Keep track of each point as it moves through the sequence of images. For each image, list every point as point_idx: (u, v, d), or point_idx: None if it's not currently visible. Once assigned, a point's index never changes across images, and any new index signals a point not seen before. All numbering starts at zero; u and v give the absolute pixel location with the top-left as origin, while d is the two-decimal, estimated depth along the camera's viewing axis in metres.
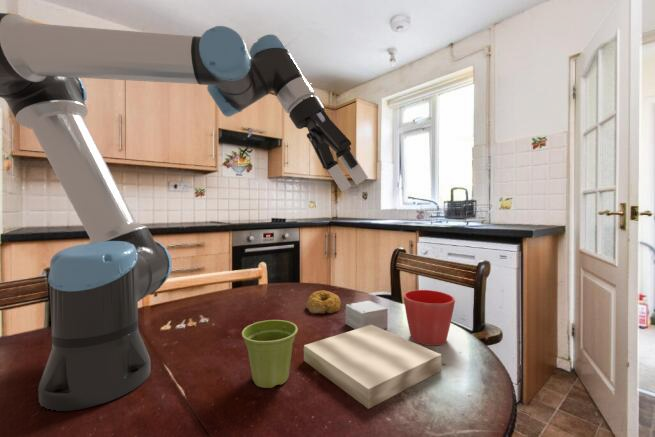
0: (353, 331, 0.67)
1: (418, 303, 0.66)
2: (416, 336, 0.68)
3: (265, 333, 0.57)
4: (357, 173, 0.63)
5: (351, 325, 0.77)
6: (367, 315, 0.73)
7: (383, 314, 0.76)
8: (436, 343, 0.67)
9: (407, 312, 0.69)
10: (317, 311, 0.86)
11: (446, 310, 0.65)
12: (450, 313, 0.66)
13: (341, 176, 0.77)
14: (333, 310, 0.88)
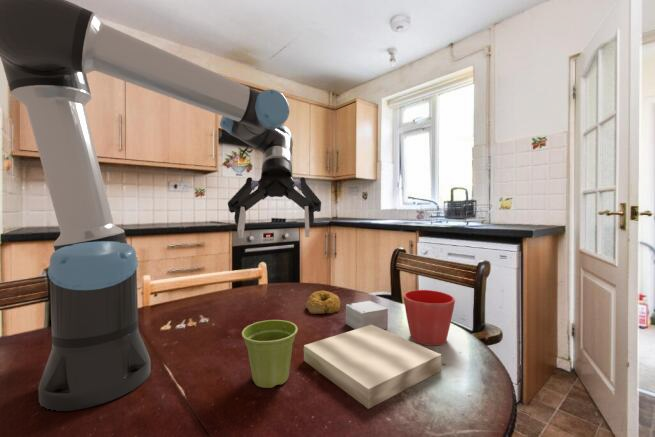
0: (353, 331, 0.67)
1: (418, 303, 0.66)
2: (416, 336, 0.68)
3: (265, 333, 0.57)
4: None
5: (351, 325, 0.77)
6: (367, 315, 0.73)
7: (383, 314, 0.76)
8: (436, 343, 0.67)
9: (407, 312, 0.69)
10: (317, 311, 0.86)
11: (446, 310, 0.65)
12: (450, 313, 0.66)
13: (244, 223, 0.66)
14: (333, 310, 0.88)
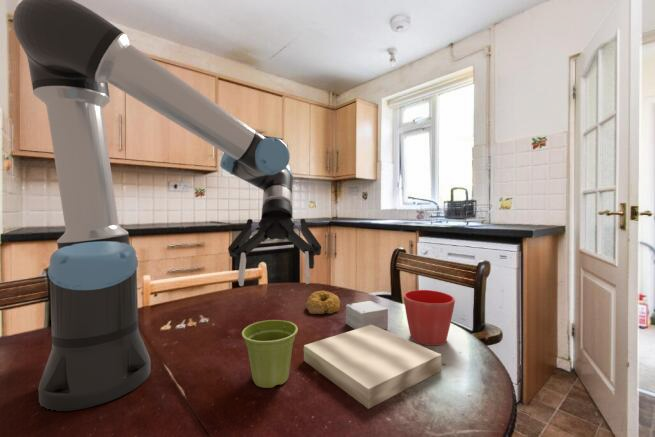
0: (353, 331, 0.67)
1: (418, 303, 0.66)
2: (416, 336, 0.68)
3: (265, 333, 0.57)
4: None
5: (351, 325, 0.77)
6: (366, 315, 0.73)
7: (383, 314, 0.76)
8: (436, 343, 0.67)
9: (407, 312, 0.69)
10: (317, 312, 0.86)
11: (446, 310, 0.65)
12: (450, 313, 0.66)
13: (244, 269, 0.66)
14: (333, 310, 0.87)
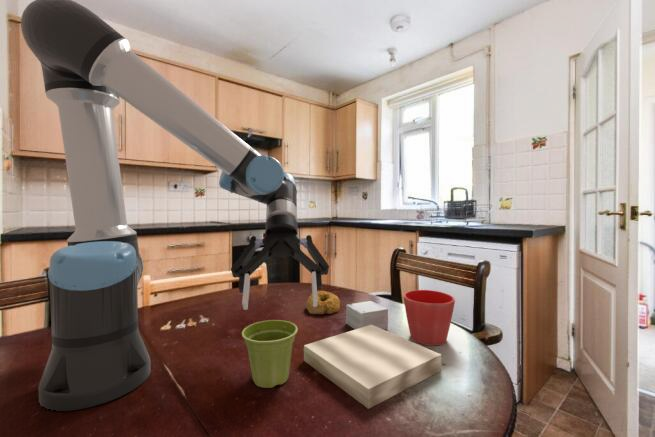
0: (353, 331, 0.67)
1: (418, 303, 0.66)
2: (416, 336, 0.68)
3: (265, 333, 0.57)
4: None
5: (351, 325, 0.77)
6: (366, 315, 0.73)
7: (383, 314, 0.75)
8: (436, 343, 0.67)
9: (407, 312, 0.69)
10: (316, 312, 0.86)
11: (446, 310, 0.65)
12: (450, 313, 0.66)
13: (248, 292, 0.63)
14: (332, 311, 0.87)
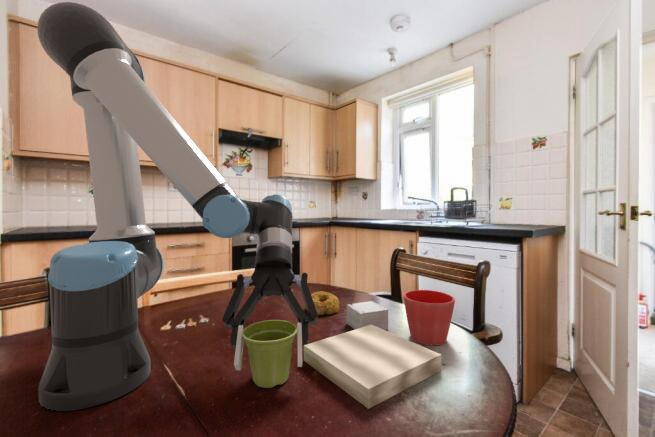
0: (353, 331, 0.67)
1: (419, 303, 0.66)
2: (416, 336, 0.68)
3: (265, 333, 0.57)
4: None
5: (351, 325, 0.77)
6: (366, 315, 0.73)
7: (383, 315, 0.75)
8: (436, 343, 0.67)
9: (407, 312, 0.69)
10: None
11: (446, 310, 0.65)
12: (450, 313, 0.66)
13: (242, 347, 0.53)
14: (332, 311, 0.87)
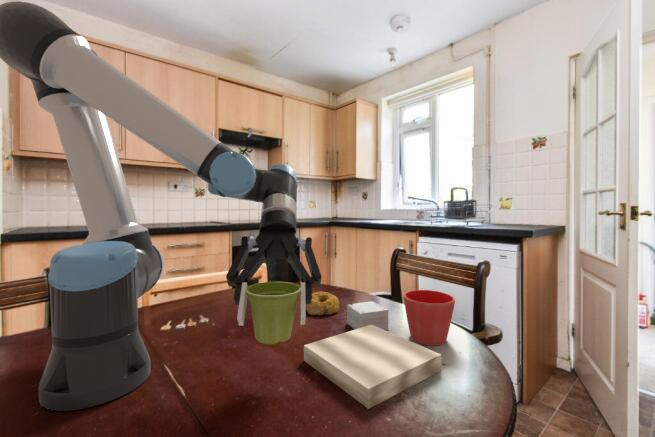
0: (353, 331, 0.67)
1: (419, 303, 0.66)
2: (416, 336, 0.68)
3: (268, 294, 0.57)
4: None
5: (351, 325, 0.77)
6: (366, 315, 0.73)
7: (383, 315, 0.75)
8: (436, 343, 0.67)
9: (407, 312, 0.69)
10: (316, 313, 0.85)
11: (446, 310, 0.65)
12: (450, 313, 0.66)
13: (245, 304, 0.53)
14: (332, 311, 0.87)
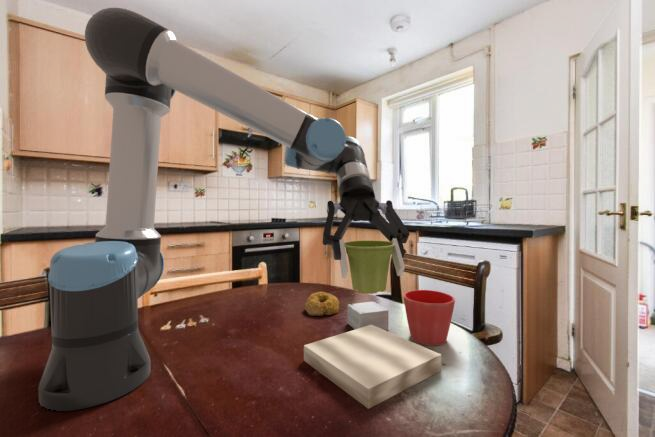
0: (353, 331, 0.67)
1: (419, 303, 0.66)
2: (416, 336, 0.68)
3: None
4: None
5: (351, 325, 0.77)
6: (365, 315, 0.73)
7: (383, 315, 0.75)
8: (436, 343, 0.67)
9: (407, 312, 0.69)
10: (315, 313, 0.85)
11: (446, 310, 0.65)
12: (450, 313, 0.66)
13: None
14: (332, 312, 0.86)
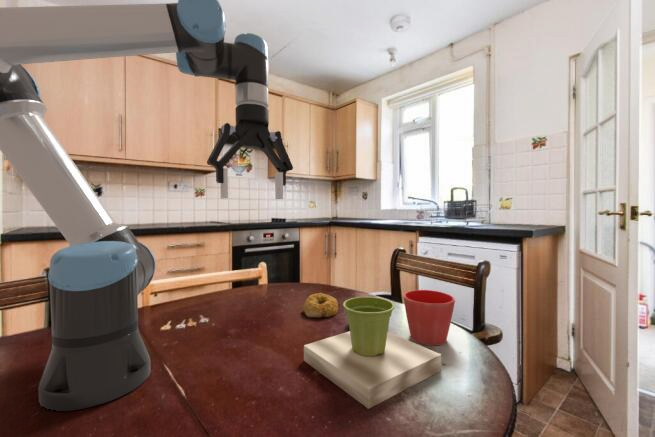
0: None
1: (418, 303, 0.66)
2: (416, 336, 0.68)
3: (358, 309, 0.62)
4: None
5: None
6: None
7: None
8: (436, 343, 0.67)
9: (407, 312, 0.69)
10: (314, 315, 0.83)
11: (446, 310, 0.65)
12: (450, 313, 0.66)
13: None
14: (330, 314, 0.85)
